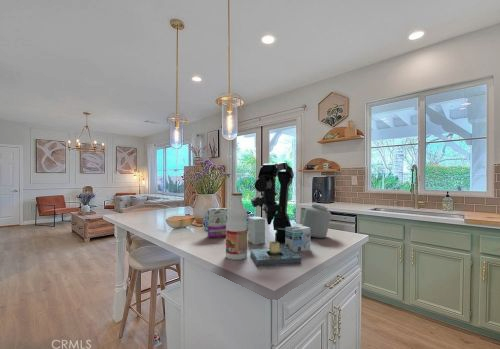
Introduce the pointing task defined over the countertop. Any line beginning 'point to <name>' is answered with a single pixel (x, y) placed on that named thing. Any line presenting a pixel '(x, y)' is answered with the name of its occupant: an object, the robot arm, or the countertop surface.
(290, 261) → the jig
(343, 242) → the countertop surface
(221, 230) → the candy bar box
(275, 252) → the cylinder
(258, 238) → the small box
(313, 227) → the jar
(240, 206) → the fruit juice
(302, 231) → the light bulb box
